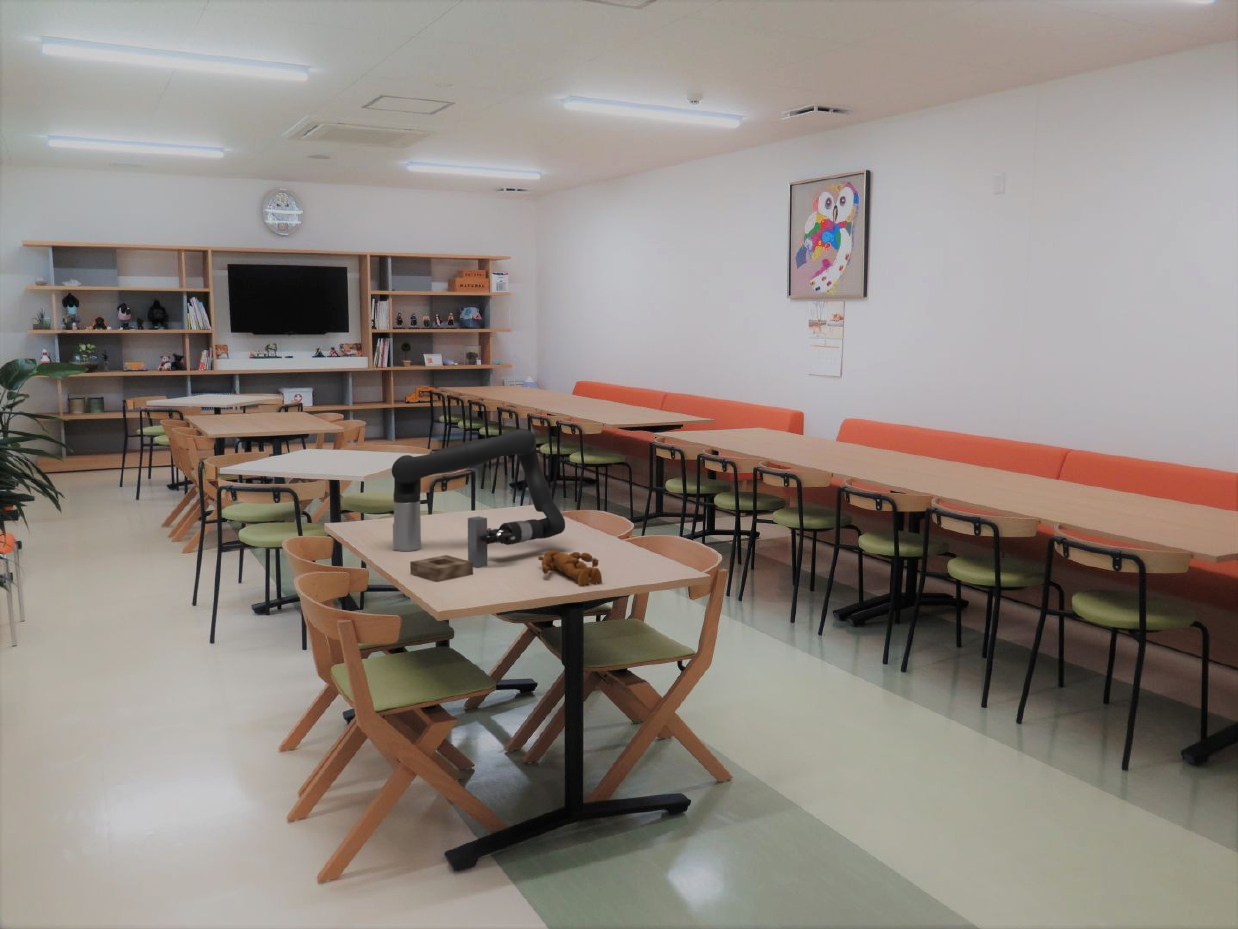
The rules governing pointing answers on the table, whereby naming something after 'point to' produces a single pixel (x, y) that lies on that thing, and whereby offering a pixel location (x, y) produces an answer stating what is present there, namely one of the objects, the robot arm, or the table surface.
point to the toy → (572, 566)
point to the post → (477, 541)
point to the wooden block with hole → (441, 568)
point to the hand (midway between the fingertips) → (478, 538)
